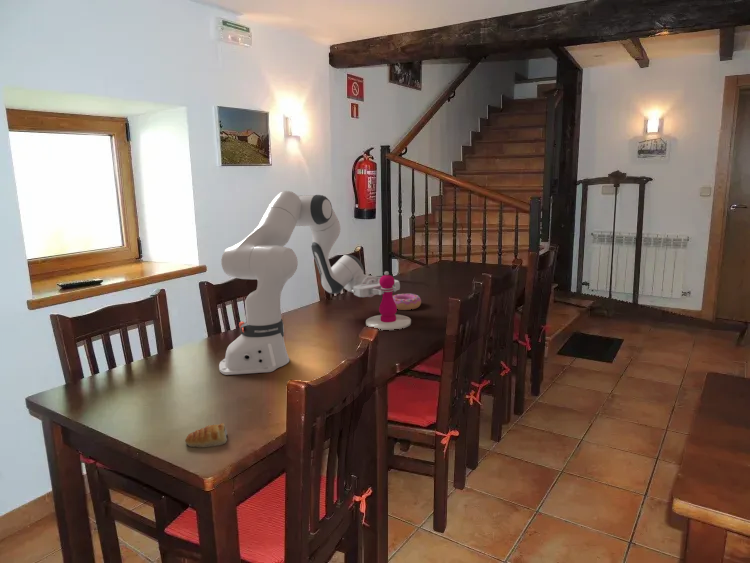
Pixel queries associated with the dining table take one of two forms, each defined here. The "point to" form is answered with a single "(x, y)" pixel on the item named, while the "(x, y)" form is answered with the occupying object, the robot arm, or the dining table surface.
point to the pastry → (208, 436)
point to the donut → (407, 301)
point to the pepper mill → (387, 299)
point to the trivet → (398, 324)
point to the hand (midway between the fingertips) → (388, 291)
